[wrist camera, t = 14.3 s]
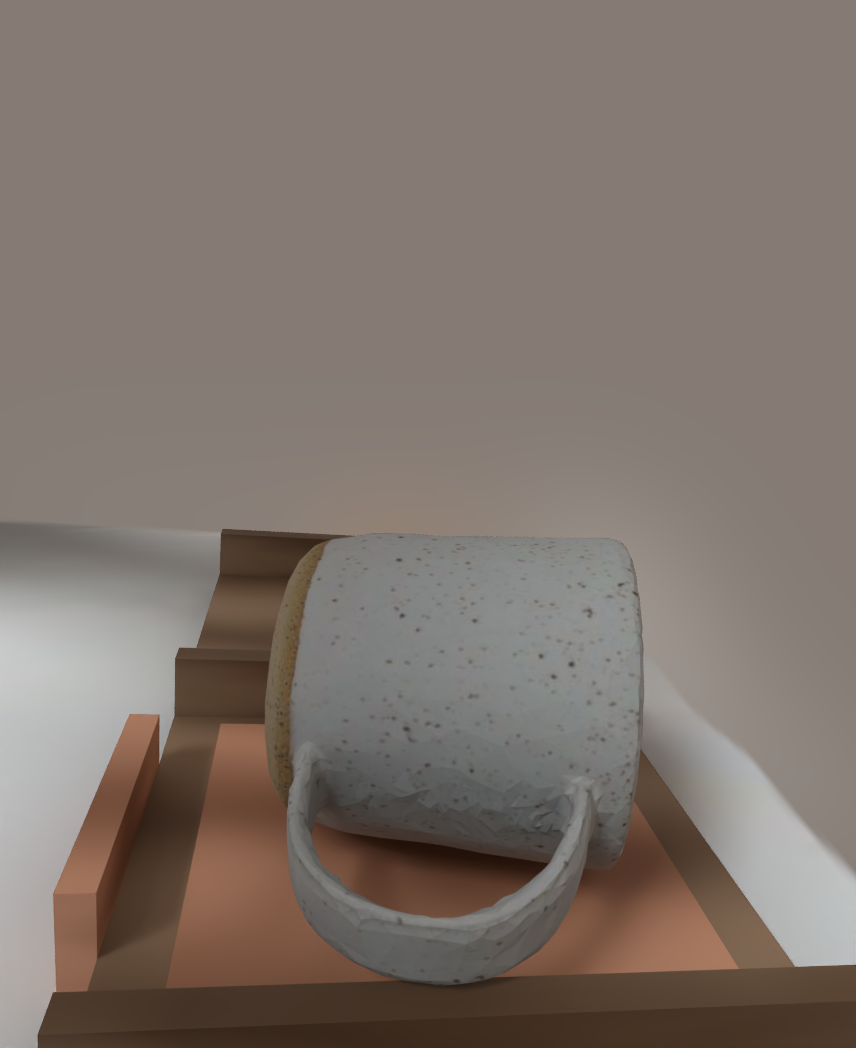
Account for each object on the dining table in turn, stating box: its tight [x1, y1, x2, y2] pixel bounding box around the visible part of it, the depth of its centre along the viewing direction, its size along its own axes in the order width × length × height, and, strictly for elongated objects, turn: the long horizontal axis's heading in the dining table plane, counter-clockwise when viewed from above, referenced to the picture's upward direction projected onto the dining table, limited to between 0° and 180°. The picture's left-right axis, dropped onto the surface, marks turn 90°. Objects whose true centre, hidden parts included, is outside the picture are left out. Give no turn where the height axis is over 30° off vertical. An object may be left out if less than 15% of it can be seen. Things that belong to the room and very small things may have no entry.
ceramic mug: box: [265, 533, 644, 986], centre depth 18 cm, size 11×8×8 cm
